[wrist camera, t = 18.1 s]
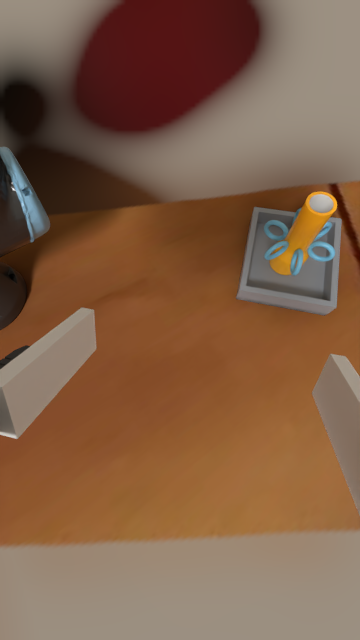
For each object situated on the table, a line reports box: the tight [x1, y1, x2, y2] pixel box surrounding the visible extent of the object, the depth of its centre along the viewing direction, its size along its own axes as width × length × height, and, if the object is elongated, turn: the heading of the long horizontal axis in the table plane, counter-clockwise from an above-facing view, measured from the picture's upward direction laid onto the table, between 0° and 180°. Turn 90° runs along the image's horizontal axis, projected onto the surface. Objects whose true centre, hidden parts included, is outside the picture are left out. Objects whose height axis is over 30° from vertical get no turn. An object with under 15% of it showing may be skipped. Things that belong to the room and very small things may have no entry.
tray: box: [236, 207, 342, 315], centre depth 47 cm, size 16×18×4 cm
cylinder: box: [264, 192, 337, 276], centre depth 41 cm, size 12×10×15 cm
